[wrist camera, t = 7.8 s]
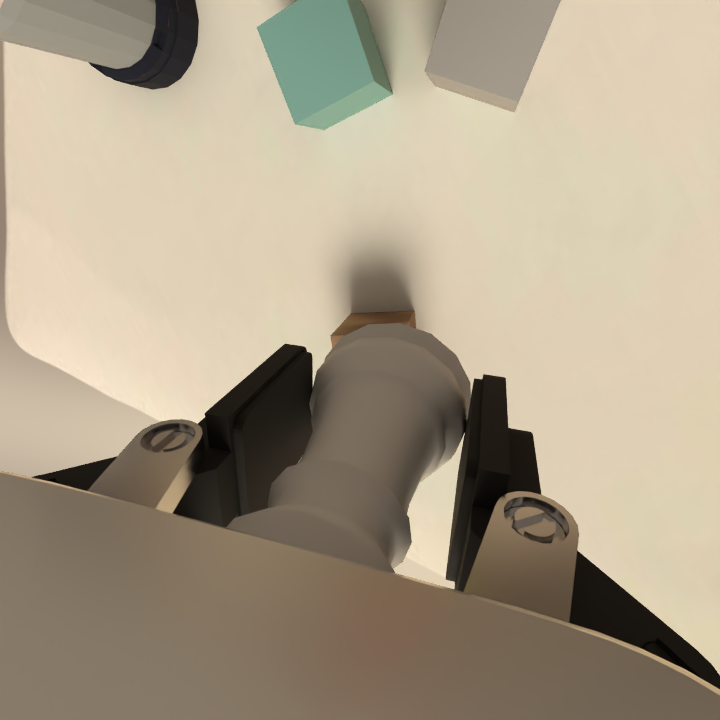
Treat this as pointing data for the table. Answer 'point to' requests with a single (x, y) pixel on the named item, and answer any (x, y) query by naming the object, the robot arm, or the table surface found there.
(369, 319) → the walnut cube
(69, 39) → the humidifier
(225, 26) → the table surface
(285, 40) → the teal cube
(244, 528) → the rook chess piece
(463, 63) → the grey cube
